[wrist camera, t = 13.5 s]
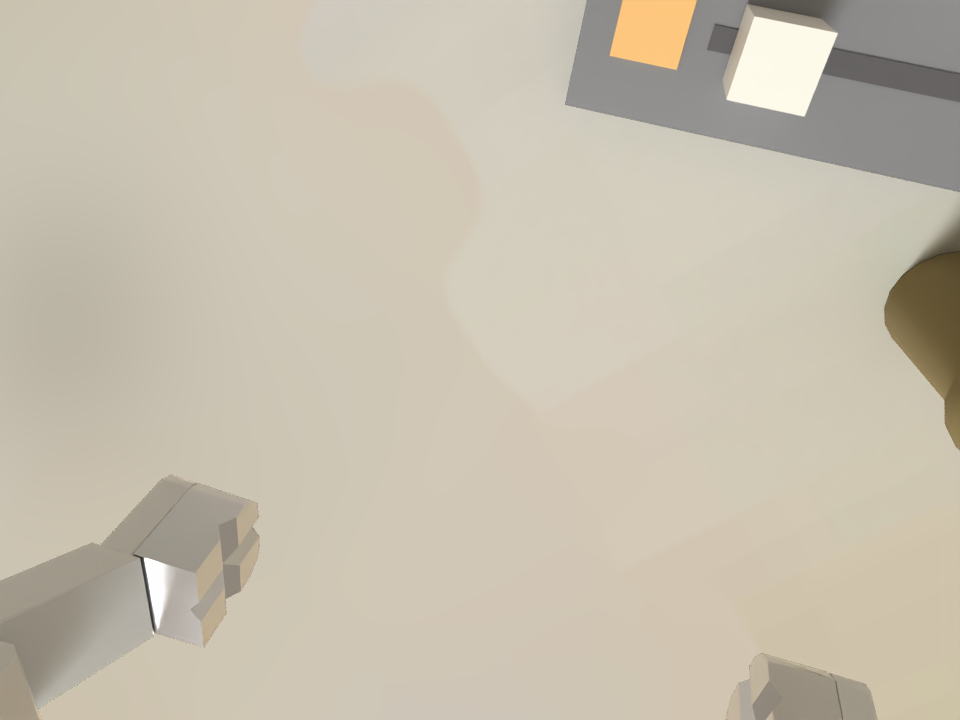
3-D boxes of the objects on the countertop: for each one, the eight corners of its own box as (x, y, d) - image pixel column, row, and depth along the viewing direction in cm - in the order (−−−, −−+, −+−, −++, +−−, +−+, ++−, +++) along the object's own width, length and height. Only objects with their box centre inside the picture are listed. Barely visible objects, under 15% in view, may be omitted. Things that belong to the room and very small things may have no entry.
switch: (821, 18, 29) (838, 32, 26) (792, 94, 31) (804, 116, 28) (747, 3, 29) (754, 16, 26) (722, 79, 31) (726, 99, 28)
